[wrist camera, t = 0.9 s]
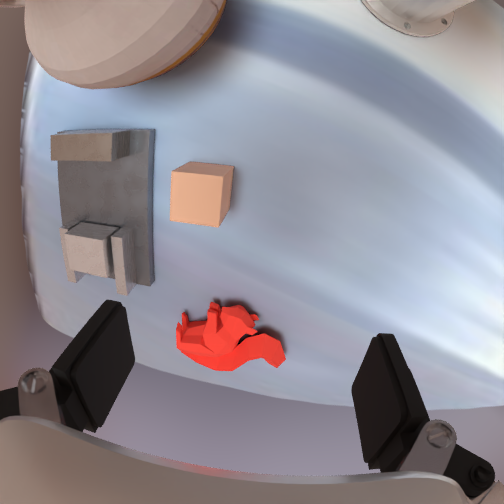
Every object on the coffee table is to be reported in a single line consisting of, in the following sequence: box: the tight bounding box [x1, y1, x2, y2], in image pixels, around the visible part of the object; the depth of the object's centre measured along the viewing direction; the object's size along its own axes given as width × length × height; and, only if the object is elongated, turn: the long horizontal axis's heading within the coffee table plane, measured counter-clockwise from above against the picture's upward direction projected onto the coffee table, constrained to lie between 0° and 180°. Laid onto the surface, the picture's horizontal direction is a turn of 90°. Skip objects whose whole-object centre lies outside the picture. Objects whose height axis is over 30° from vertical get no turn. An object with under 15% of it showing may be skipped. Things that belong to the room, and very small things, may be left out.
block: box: [170, 162, 234, 227], centre depth 31 cm, size 5×5×6 cm
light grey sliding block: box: [64, 222, 119, 278], centre depth 34 cm, size 5×6×4 cm
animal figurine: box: [176, 302, 286, 371], centre depth 40 cm, size 12×15×5 cm
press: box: [51, 129, 155, 295], centre depth 33 cm, size 20×14×6 cm
